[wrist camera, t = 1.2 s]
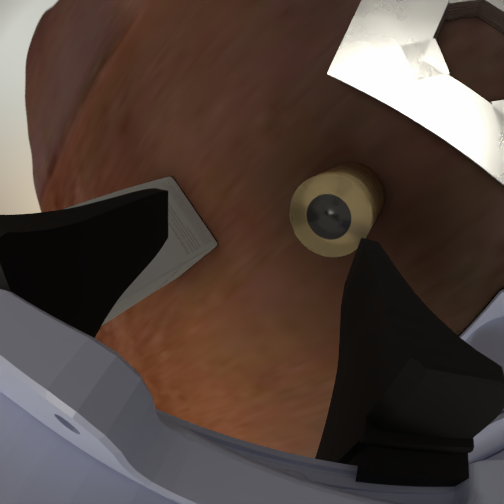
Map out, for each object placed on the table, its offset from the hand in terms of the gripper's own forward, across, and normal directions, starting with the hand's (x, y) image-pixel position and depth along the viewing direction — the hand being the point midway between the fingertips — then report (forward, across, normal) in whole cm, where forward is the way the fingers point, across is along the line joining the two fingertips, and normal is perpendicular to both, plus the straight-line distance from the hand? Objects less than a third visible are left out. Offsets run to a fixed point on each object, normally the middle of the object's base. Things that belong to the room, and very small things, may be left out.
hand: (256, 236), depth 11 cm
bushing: (+10, -4, +1) cm, 11 cm away
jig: (+10, -10, -10) cm, 17 cm away
